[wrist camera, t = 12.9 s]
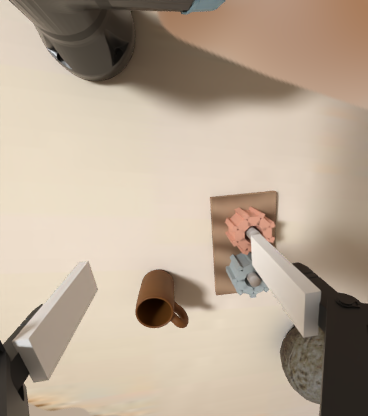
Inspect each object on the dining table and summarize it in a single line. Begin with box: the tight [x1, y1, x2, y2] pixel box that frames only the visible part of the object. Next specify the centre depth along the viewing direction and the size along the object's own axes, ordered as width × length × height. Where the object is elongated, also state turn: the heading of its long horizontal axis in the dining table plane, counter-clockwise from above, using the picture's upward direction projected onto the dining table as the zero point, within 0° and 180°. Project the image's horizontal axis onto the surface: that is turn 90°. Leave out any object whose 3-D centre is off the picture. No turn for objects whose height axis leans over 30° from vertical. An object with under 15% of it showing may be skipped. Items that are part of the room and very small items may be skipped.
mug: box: [136, 270, 188, 328], centre depth 42 cm, size 12×8×9 cm, turn 53°
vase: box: [280, 326, 325, 404], centre depth 38 cm, size 17×17×30 cm
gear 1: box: [225, 206, 276, 255], centre depth 40 cm, size 9×9×5 cm
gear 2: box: [226, 252, 269, 298], centre depth 42 cm, size 9×9×5 cm
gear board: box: [210, 191, 277, 295], centre depth 41 cm, size 24×14×7 cm, turn 5°
